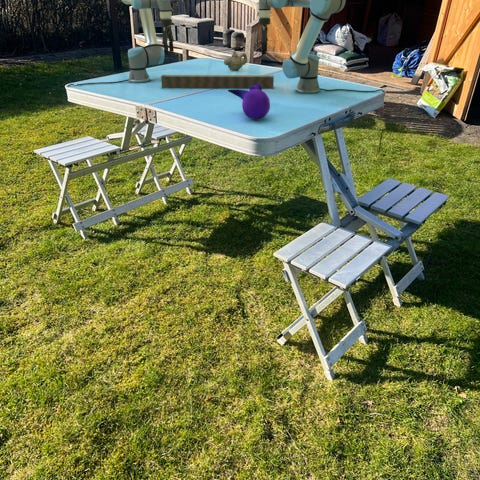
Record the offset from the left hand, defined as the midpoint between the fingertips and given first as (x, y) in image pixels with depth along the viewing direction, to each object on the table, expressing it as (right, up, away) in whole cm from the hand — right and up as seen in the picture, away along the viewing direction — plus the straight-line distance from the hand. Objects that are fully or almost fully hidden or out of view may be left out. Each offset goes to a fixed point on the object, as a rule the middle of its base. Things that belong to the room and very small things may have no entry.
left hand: (169, 53), depth 306 cm
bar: (+33, -21, +8) cm, 39 cm away
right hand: (+65, -3, -7) cm, 65 cm away
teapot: (+45, +12, +63) cm, 79 cm away
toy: (+54, -60, -59) cm, 100 cm away
